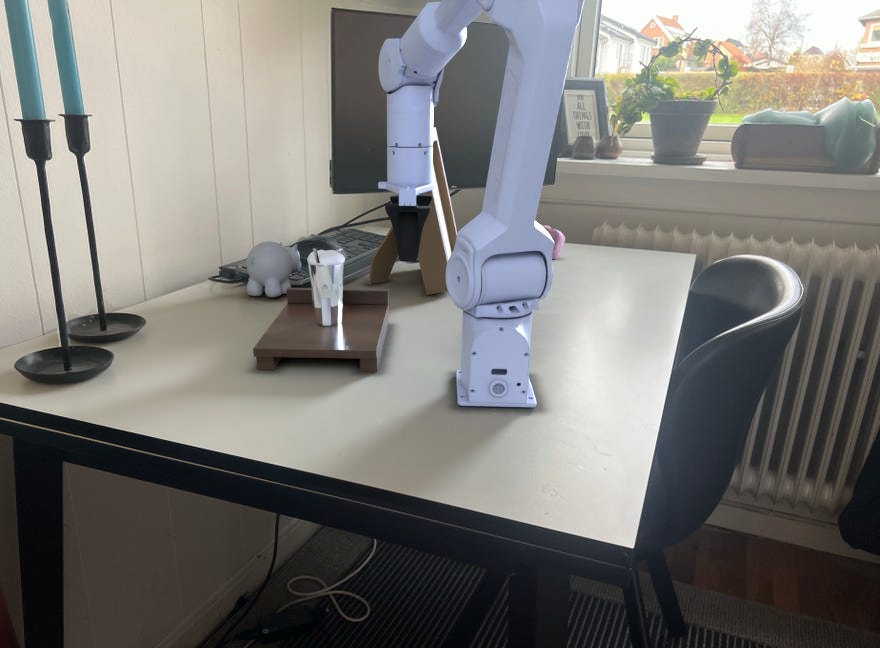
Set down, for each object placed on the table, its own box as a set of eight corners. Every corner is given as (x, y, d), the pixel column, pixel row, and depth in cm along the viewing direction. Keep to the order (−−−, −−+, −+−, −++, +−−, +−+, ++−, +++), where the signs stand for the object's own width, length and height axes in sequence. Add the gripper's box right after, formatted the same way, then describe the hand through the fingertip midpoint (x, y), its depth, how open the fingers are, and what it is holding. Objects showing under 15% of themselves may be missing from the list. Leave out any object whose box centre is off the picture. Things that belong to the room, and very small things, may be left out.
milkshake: (301, 327, 87) (297, 247, 84) (319, 315, 92) (316, 239, 89) (334, 331, 86) (332, 249, 82) (352, 319, 91) (350, 241, 87)
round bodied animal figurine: (319, 285, 119) (317, 235, 116) (275, 302, 109) (272, 247, 106) (284, 281, 122) (281, 232, 120) (239, 297, 112) (234, 243, 110)
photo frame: (463, 266, 133) (467, 127, 125) (452, 296, 113) (457, 131, 104) (385, 264, 135) (384, 126, 127) (362, 292, 115) (359, 131, 107)
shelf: (376, 375, 80) (376, 333, 79) (254, 373, 81) (251, 331, 79) (388, 323, 99) (388, 288, 97) (289, 322, 100) (287, 287, 98)
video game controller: (561, 264, 142) (569, 231, 143) (555, 257, 138) (563, 223, 139) (516, 258, 147) (524, 226, 148) (508, 252, 143) (516, 219, 144)
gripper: (382, 143, 95) (383, 243, 99) (372, 150, 81) (374, 266, 86) (435, 143, 94) (433, 244, 99) (434, 150, 81) (432, 267, 86)
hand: (409, 254), depth 92 cm, fingers open, 7 cm apart
